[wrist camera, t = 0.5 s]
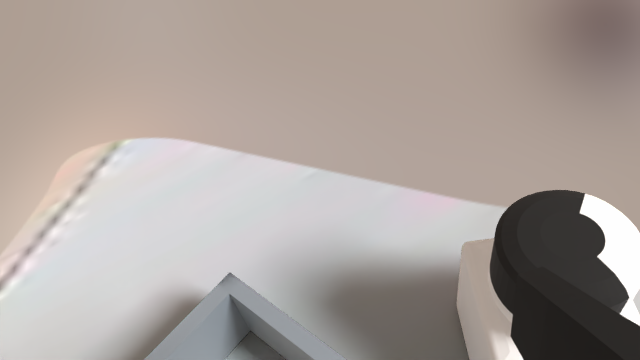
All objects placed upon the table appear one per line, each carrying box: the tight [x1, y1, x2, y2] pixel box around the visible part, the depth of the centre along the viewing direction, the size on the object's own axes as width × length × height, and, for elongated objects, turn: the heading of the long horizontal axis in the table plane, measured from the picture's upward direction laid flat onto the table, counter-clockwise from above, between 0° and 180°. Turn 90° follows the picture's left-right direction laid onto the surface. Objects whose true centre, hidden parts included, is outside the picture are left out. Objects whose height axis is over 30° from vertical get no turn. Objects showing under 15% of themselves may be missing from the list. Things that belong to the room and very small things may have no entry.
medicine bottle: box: [456, 190, 640, 360], centre depth 27 cm, size 7×7×12 cm
